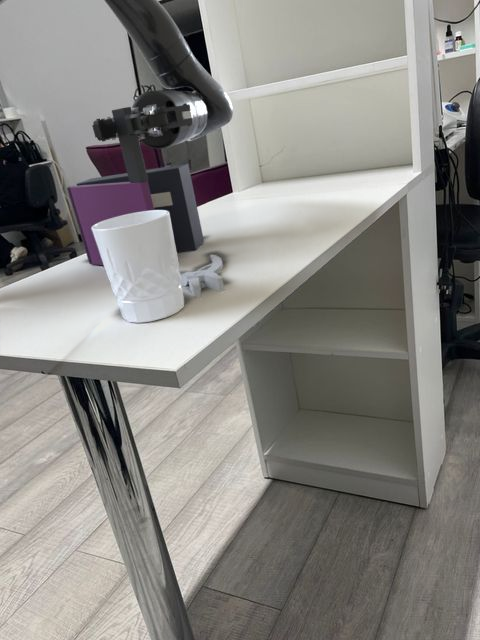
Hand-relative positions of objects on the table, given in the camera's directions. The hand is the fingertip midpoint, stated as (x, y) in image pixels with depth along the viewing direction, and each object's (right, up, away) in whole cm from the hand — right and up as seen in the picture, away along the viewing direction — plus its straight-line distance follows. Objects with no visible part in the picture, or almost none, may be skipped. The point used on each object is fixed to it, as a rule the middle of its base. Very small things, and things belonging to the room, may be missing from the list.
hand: (113, 127), depth 64 cm
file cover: (-2, -14, +15) cm, 20 cm away
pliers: (+9, -18, +3) cm, 20 cm away
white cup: (+6, -22, -6) cm, 24 cm away
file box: (0, -11, +21) cm, 24 cm away
